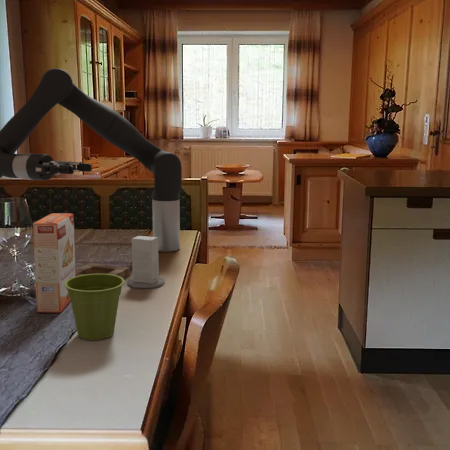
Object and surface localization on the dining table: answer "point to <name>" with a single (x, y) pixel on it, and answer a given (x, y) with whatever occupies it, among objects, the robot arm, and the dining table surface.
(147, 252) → the skincare box
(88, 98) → the robot arm
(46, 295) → the cracker box
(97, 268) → the pocket block
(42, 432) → the dining table surface
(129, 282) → the slate coaster
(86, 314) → the plant pot
